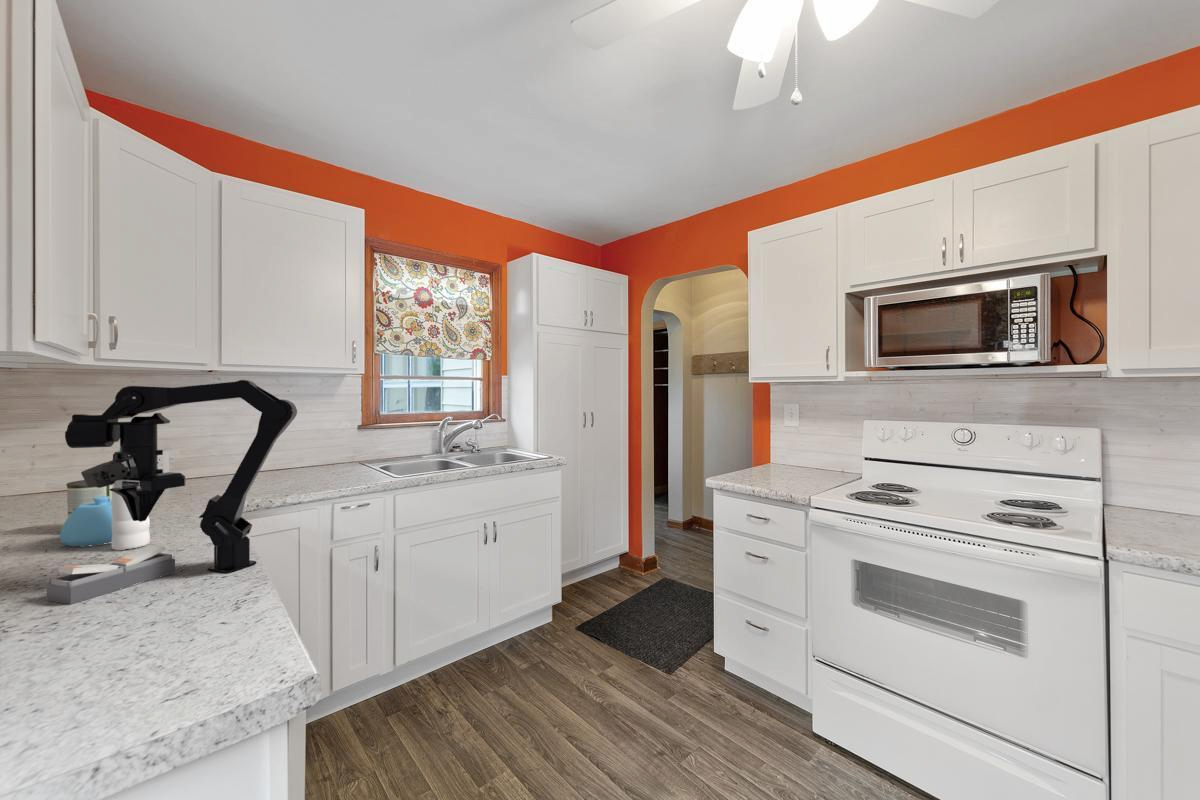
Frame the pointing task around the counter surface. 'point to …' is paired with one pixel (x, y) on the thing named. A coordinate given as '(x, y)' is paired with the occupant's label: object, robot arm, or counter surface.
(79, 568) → the rocker
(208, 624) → the counter surface
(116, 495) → the white bottle
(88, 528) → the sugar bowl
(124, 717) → the counter surface
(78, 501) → the coffee can
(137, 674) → the counter surface
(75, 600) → the rocker switch panel
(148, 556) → the block
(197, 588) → the counter surface
